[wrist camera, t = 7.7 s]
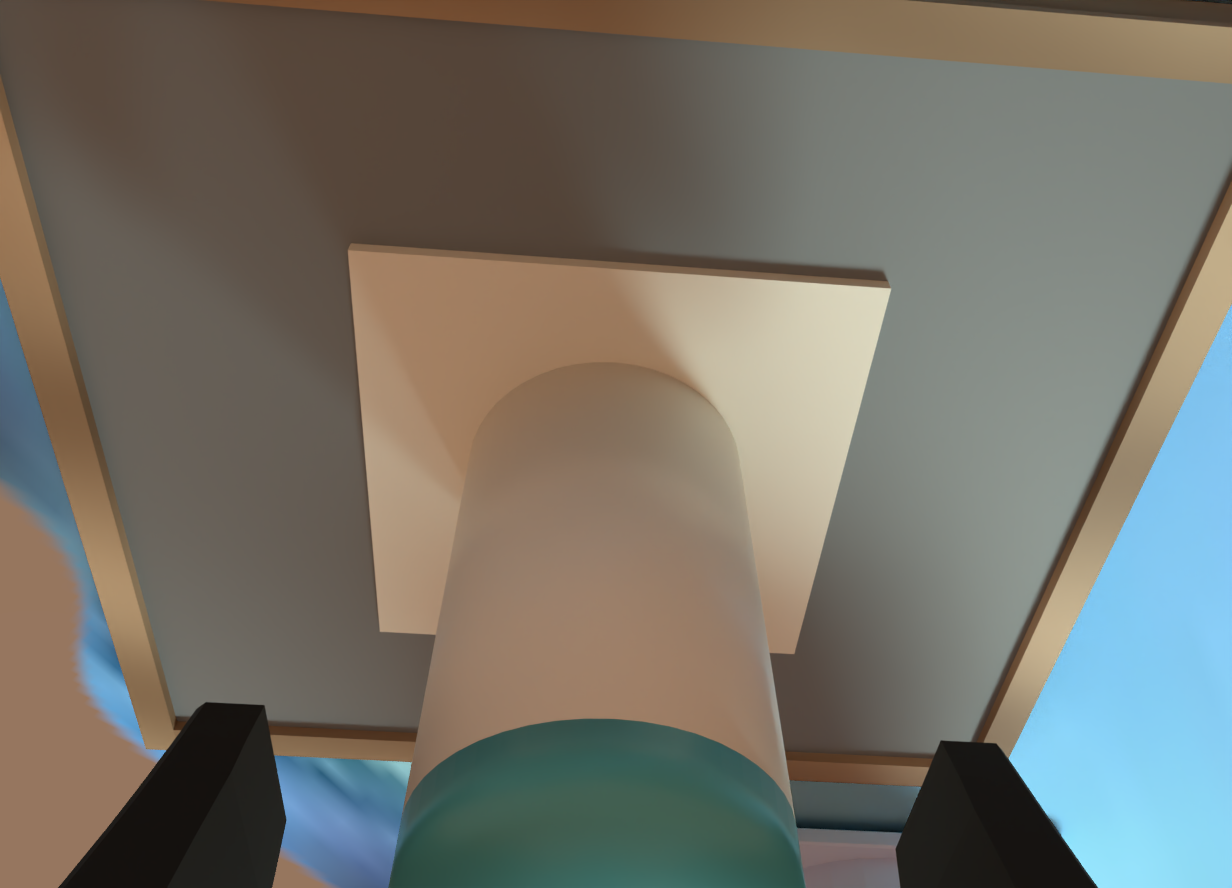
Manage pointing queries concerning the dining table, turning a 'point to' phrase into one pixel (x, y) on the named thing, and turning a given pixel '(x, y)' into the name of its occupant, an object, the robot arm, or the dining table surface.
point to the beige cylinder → (600, 656)
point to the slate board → (611, 319)
